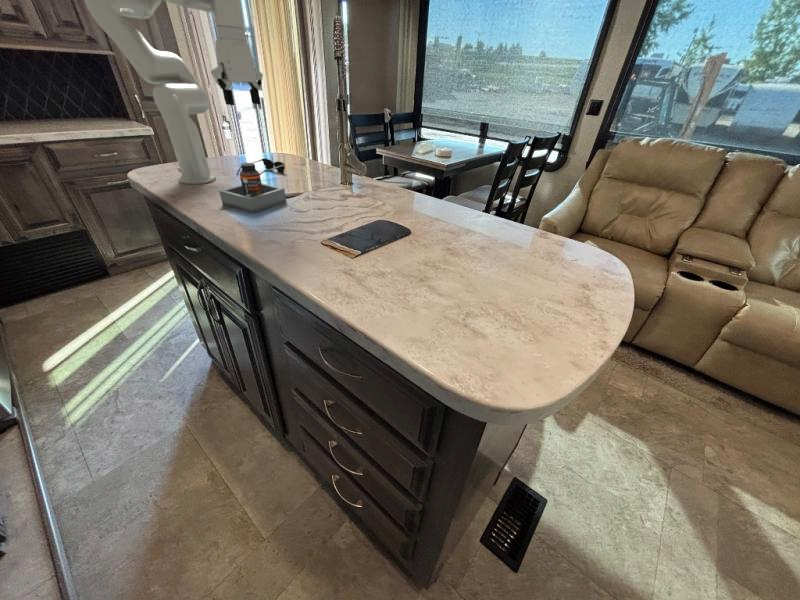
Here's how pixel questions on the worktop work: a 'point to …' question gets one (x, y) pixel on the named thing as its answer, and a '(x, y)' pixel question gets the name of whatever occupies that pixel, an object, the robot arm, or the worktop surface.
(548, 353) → the worktop surface
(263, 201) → the bin
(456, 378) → the worktop surface
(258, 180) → the supplement bottle
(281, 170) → the sunglasses
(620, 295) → the worktop surface
